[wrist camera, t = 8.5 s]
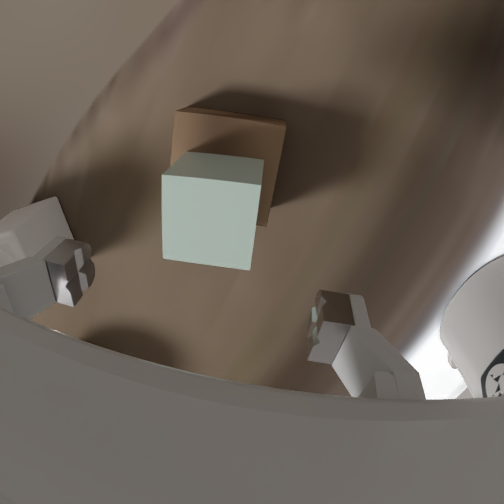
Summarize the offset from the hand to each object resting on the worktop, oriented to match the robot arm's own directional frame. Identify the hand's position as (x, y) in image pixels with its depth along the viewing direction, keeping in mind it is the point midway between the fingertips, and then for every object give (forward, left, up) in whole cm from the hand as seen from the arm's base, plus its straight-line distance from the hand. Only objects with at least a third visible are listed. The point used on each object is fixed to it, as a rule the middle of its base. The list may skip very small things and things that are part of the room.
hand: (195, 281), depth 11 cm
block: (+1, 0, -14) cm, 14 cm away
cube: (+1, +1, -11) cm, 11 cm away
